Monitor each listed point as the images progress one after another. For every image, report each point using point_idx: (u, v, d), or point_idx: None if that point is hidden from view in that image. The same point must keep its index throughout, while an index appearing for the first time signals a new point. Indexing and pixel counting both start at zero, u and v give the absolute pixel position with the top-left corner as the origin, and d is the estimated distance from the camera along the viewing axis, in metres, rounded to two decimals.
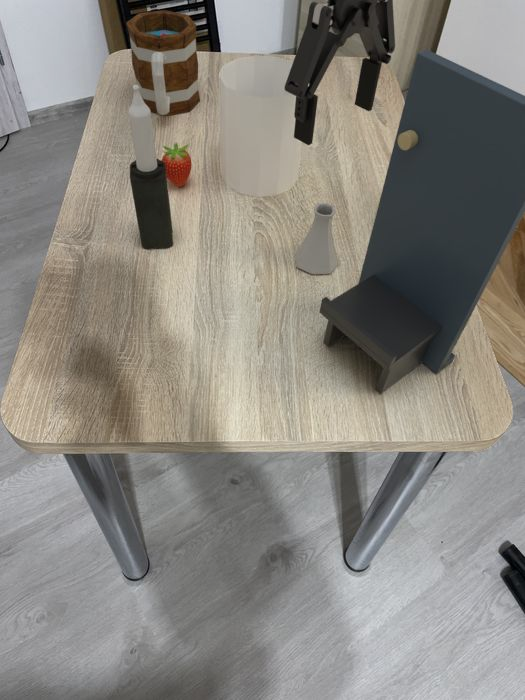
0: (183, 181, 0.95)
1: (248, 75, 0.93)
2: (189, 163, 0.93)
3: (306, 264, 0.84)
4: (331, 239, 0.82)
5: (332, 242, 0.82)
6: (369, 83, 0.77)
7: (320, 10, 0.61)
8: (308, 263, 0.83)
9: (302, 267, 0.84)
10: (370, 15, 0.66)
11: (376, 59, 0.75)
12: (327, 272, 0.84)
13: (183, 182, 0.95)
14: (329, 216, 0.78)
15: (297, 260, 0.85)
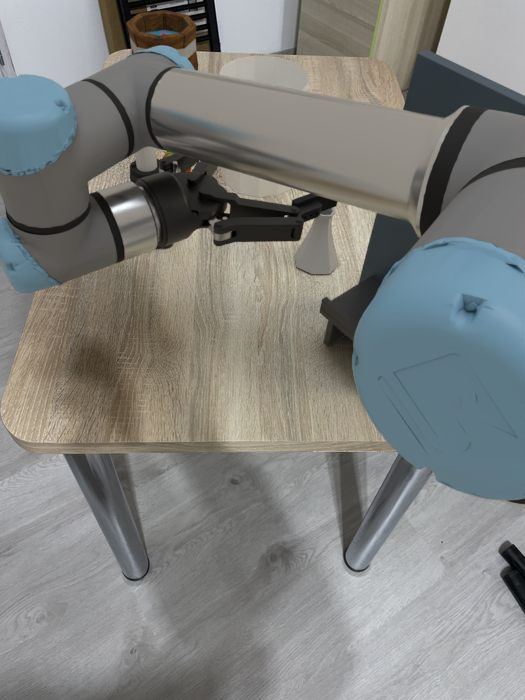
0: None
1: (248, 75, 0.93)
2: None
3: (306, 264, 0.84)
4: (331, 239, 0.82)
5: (332, 242, 0.82)
6: None
7: (219, 234, 0.57)
8: (308, 263, 0.83)
9: (302, 267, 0.84)
10: (197, 175, 0.60)
11: None
12: (327, 272, 0.84)
13: None
14: (329, 216, 0.78)
15: (297, 260, 0.85)
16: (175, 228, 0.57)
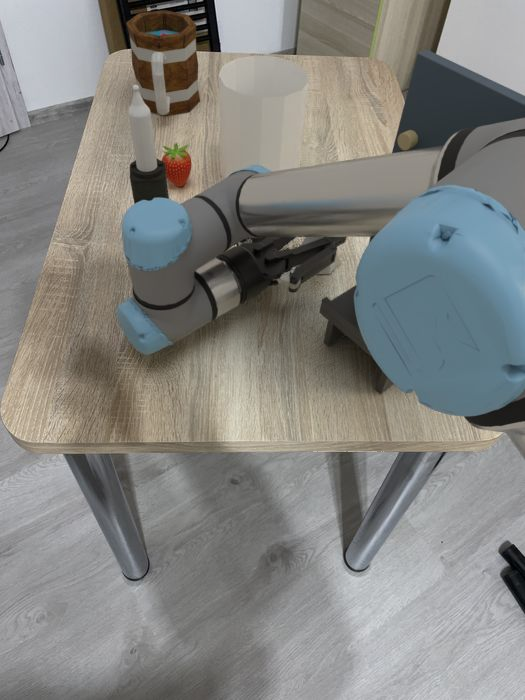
0: (183, 181, 0.95)
1: (248, 75, 0.93)
2: (189, 163, 0.93)
3: None
4: None
5: None
6: None
7: (296, 283, 0.74)
8: None
9: None
10: (261, 244, 0.76)
11: None
12: (327, 272, 0.84)
13: (183, 182, 0.95)
14: None
15: None
16: (252, 289, 0.73)
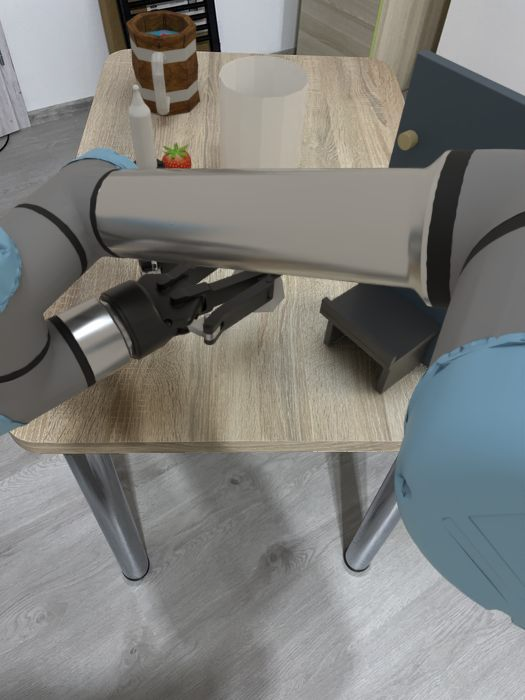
0: None
1: (248, 75, 0.93)
2: (189, 163, 0.93)
3: None
4: None
5: None
6: None
7: (213, 333, 0.53)
8: None
9: None
10: (167, 277, 0.55)
11: None
12: (267, 310, 0.63)
13: None
14: None
15: None
16: (148, 343, 0.52)
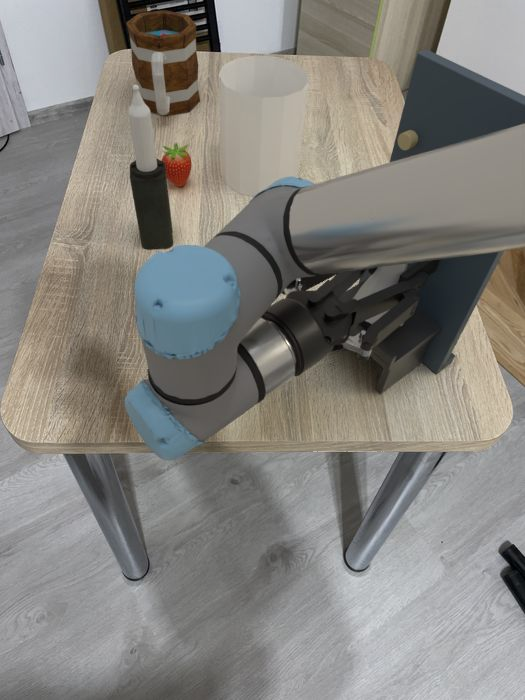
0: (183, 181, 0.95)
1: (248, 75, 0.93)
2: (189, 163, 0.93)
3: None
4: None
5: None
6: None
7: (370, 350, 0.54)
8: None
9: None
10: (318, 294, 0.56)
11: None
12: None
13: (183, 182, 0.95)
14: None
15: None
16: (311, 360, 0.53)
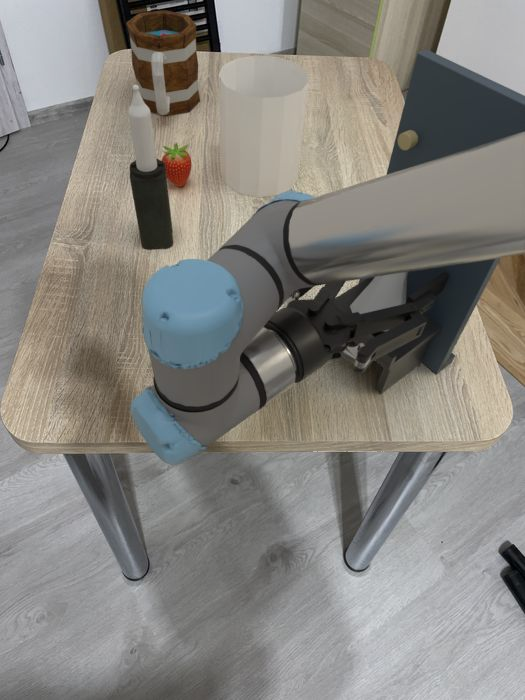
0: (183, 181, 0.95)
1: (248, 75, 0.93)
2: (189, 163, 0.93)
3: None
4: (405, 287, 0.64)
5: (405, 292, 0.64)
6: None
7: (365, 363, 0.55)
8: None
9: None
10: (318, 303, 0.58)
11: None
12: None
13: (183, 182, 0.95)
14: None
15: None
16: (311, 368, 0.54)
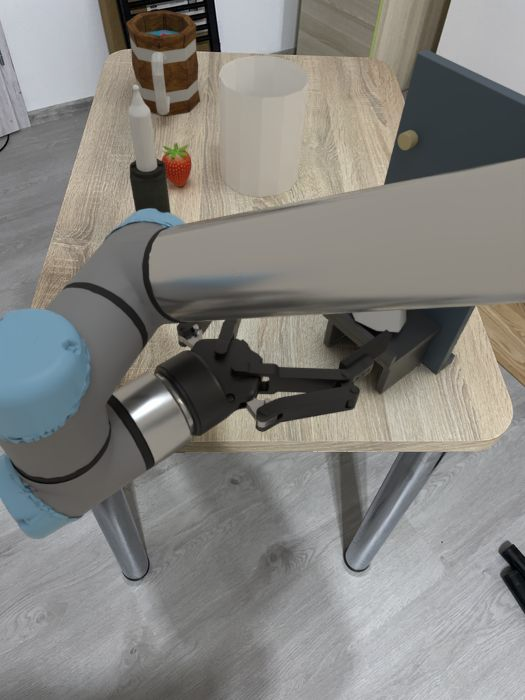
0: (183, 181, 0.95)
1: (248, 75, 0.93)
2: (189, 163, 0.93)
3: (369, 317, 0.65)
4: None
5: None
6: None
7: (264, 422, 0.48)
8: (373, 316, 0.64)
9: (363, 321, 0.65)
10: (226, 345, 0.51)
11: None
12: (395, 329, 0.65)
13: (183, 182, 0.95)
14: None
15: None
16: (210, 421, 0.47)
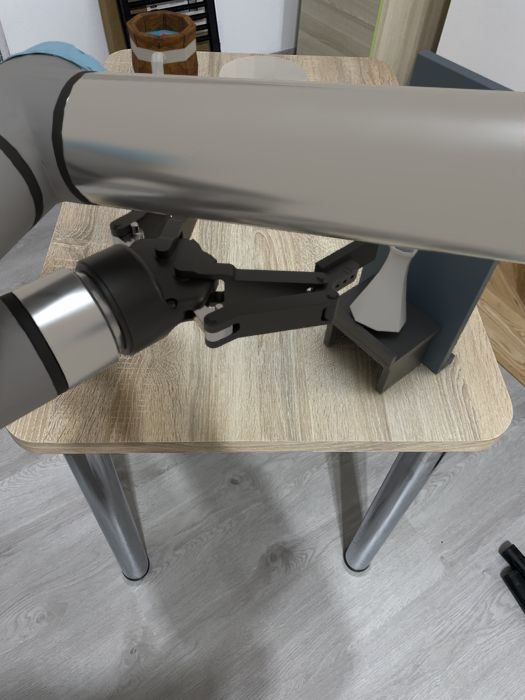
0: None
1: (248, 75, 0.93)
2: None
3: (369, 317, 0.65)
4: (405, 287, 0.64)
5: (405, 291, 0.64)
6: None
7: (214, 333, 0.36)
8: (373, 316, 0.64)
9: (363, 321, 0.65)
10: (170, 241, 0.40)
11: None
12: (395, 329, 0.65)
13: None
14: (412, 254, 0.60)
15: (355, 312, 0.66)
16: (144, 331, 0.36)
